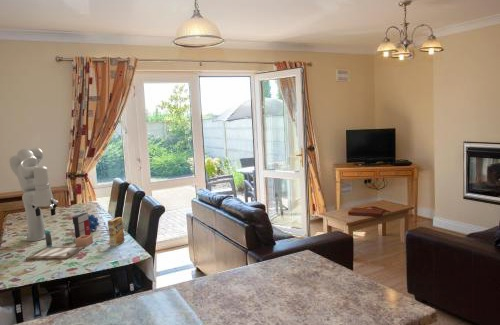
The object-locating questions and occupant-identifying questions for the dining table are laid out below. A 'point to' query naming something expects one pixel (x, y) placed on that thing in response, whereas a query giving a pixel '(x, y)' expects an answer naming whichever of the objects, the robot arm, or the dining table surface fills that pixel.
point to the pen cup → (84, 240)
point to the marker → (48, 238)
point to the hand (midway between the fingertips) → (45, 215)
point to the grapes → (92, 222)
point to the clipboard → (55, 253)
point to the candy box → (116, 231)
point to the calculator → (81, 225)
